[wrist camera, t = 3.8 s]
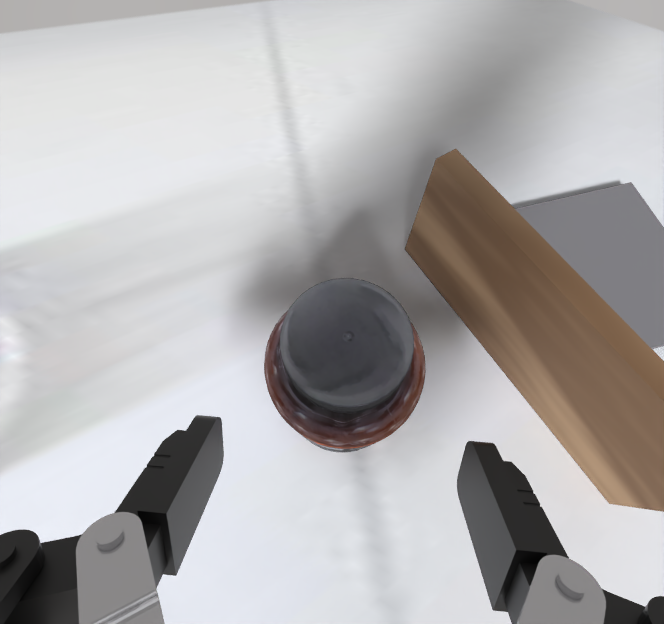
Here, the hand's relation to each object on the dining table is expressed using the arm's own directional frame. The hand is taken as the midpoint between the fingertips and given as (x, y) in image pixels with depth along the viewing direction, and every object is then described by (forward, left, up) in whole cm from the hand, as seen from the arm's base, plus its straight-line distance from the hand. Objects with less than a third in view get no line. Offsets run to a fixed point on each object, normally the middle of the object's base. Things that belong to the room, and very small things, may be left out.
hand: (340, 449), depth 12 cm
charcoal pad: (-19, -6, -9) cm, 22 cm away
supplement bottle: (-1, -3, -9) cm, 9 cm away
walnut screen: (-11, -3, -9) cm, 14 cm away
